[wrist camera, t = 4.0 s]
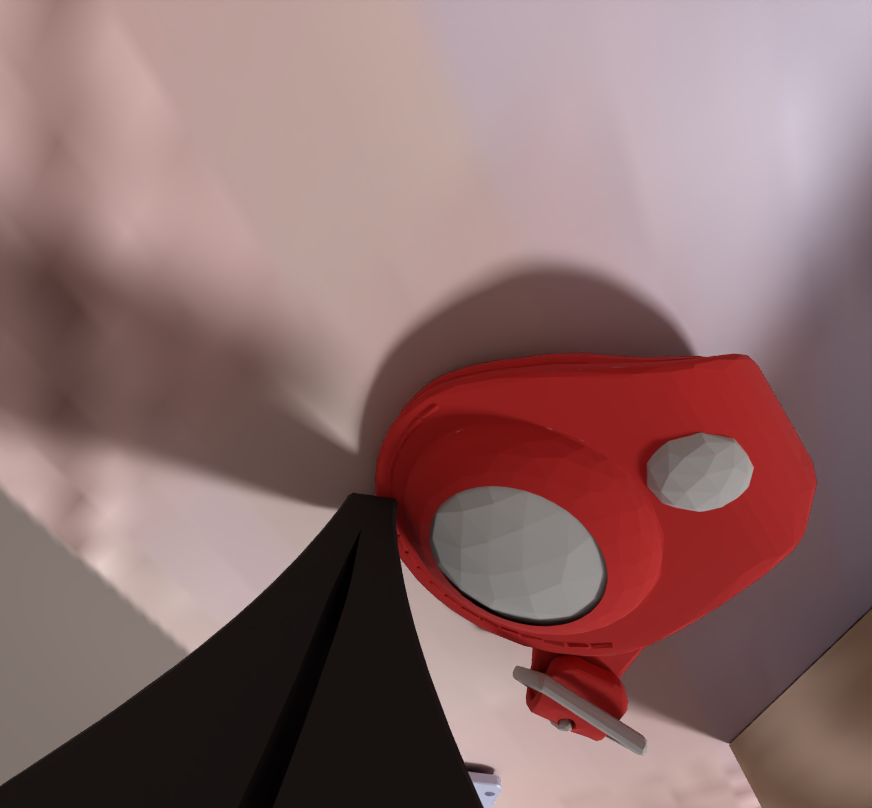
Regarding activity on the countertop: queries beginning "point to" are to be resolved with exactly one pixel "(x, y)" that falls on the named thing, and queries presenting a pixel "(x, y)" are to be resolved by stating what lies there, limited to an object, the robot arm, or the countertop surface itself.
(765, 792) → the wall board
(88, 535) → the countertop surface
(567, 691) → the tracker holder
